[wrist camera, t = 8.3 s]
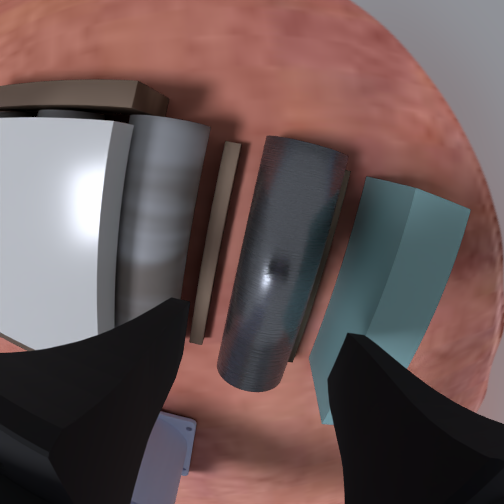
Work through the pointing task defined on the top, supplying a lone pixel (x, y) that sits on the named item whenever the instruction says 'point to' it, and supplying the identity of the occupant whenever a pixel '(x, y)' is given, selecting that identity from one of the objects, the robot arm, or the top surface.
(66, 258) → the metal plate
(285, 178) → the roller
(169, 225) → the roller bed
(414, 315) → the block
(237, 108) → the top surface
